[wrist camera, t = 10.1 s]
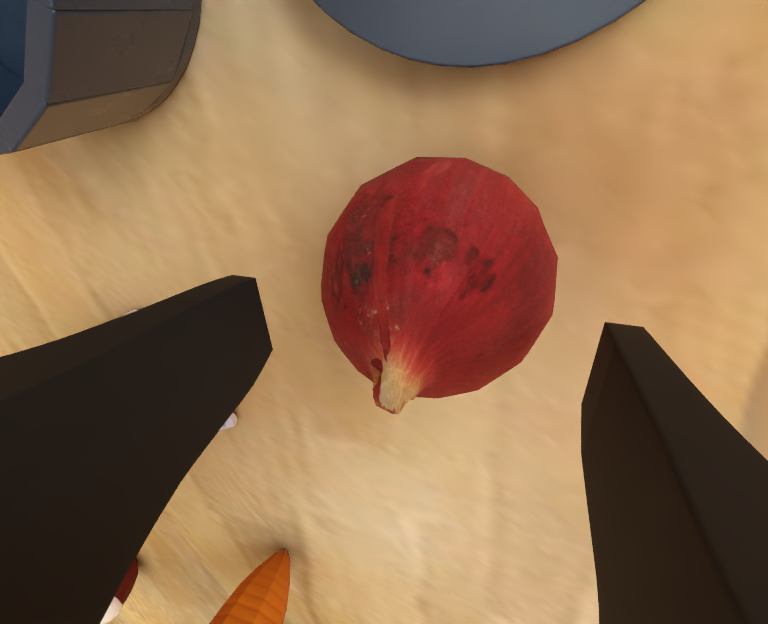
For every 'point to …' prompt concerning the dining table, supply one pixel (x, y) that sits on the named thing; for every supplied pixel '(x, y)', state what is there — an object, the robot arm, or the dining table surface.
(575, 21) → the lid
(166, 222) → the dining table surface
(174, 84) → the pan
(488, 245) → the onion
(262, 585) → the carrot
